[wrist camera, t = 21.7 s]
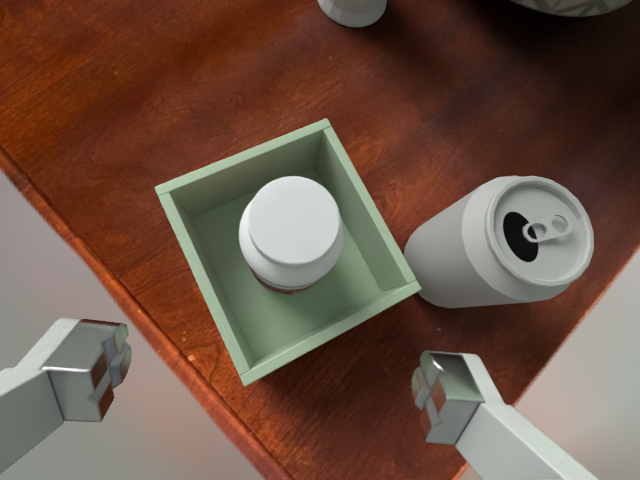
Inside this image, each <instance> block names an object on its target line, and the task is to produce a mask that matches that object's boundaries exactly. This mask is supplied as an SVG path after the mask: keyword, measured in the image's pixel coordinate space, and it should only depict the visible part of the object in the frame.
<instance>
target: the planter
mask: <svg viewBox="0 0 640 480" xmlns="http://www.w3.org/2000/svg"><path fill="white" fill-rule="evenodd" d="M510 1H513V2H515V3H517V4H519V5H522V6H524V7H527V8H530V9H533V10H536V11H539V12H543V13H548V14H552V15H558V16H567V17H588V16H596V15H601V14H605V13H608V12H611V11H614V10H617V9H619V8H620V7H622V6H624V5H626V4H628V3H629V2H631V1H632V0H510Z"/></svg>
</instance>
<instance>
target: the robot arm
mask: <svg viewBox="0 0 640 480" xmlns="http://www.w3.org/2000/svg"><path fill="white" fill-rule="evenodd" d="M127 336H128V330H127V325H126V324H123V323H114V322H106V321H98V320H89V319H77V318H67V317H62V318H61V319H58V320H57V321H56V322H55V323H54V324H53V325H52V326H51V327H50V328H49V330H48V331H47V332H46V333H45V334H44V335H43V336H42V337H41V339H40V340H39V341H38V342H37V343H36V344H35V345H34V347H33V348H32V349H31V350H30V351H29V352H28V353H27V355H26V356H25V357H24V358H23V359H22V360H21V361H20V362H19V364H18V365H17V366H16V367H15V368H6V369H4V370H2V371H0V474H1V473H2V472H4V471H5V470H6V469H7V468H9V467H10V466H11V465H12V464H14V463H15V462H16V461H17V460H18V459H20V458H21V457H22V456H23V455H25V454H26V453H27V452H28V451H30V450H31V449H32V448H33V447H35V446H36V445H37V444H38V443H40V442H41V441H42V440H43V439H45V438H46V437H47V436H48V435H49V434H51V433H52V432H53V431H55V430H56V429H57V428H58V427H60V426H61V425H62V424H63V423H64V421H84V422H85V421H86V422H101V421H102V420H103V418H104V416H105V414H106V412H107V410H108V409H109V407H110V405H111V403H112V401H113V399H114V394H113V389H114V388H115V387H117V386H118V385H119V384H121V383H122V382H123V380H124V378H125V376H126V374H127V372H128V369H129V366H130V362H131V347H130V345H129V344H128V343H126V342H125V339H126V337H127ZM419 360H420V363H421V366H420V367H418V368H417V369H415V370H414V373H413V376H412V380H411V393H412V398H413V402H414V404H415V405H416V406H417V407H418V408H419V409H420V410H421V411H422V412H421V414H420V416H419V418H418V419H419V422H420V426H421V429H422V433H423V436H424V439H425V442H430V443H441V444H452V445H456V446H455V447H456V448H457V450H458V451H459V452H460V453H461V455H462V456H463V457H464V458H465V460H466V461H467V462H468V463H469V464H470V466H471V467H472V468H473V469H474V471H475V472H476V473H477V474H478V476H479V477H480V478H481V479H482V480H599V479H598V478H597V477H596V476H595V475H593V474H592V473H591V472H590V471H588V470H587V469H586V468H585V467H584V466H583V465H581V464H580V463H579V462H578V461H576V459H574V458H573V457H572V456H571V455H570V454H568V453H567V452H566V451H564V449H562V448H561V447H560V446H559V445H558V444H556V443H555V442H554V441H553V440H552V439H550V438H549V437H548V436H547V435H546V434H544V433H543V432H542V431H541V430H540V429H538V428H537V427H536V426H535V425H534V424H532V423H531V422H530V421H529V420H528V419H526V418H525V417H524V416H523V415H522V414H520V413H519V412H518V411H517V410H516V409H514V408H513V407H512V406H511V405H505V403H504V401H503V399H502V398H501V396H500V394H499V392H498V390H497V388H496V387H495V385H494V383H493V381H492V379H491V377H490V375H489V374H488V372H487V370H486V368H485V366H484V364H483V362H482V361H481V359H480V357H479V356H477V355H476V354H467V353H455V352H442V351H430V350H425V351H424V352H423V353H422V354H421V356H420V359H419Z"/></svg>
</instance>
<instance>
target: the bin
mask: <svg viewBox="0 0 640 480" xmlns="http://www.w3.org/2000/svg"><path fill="white" fill-rule="evenodd" d="M287 176H299V177H304V178H308V179H310V180H313V181H315V182H317V183H318V184H320V185H322V186H323V187H324V188H325V189H326V190H327V191H328V192H329V193H330V194H331V195H332V197H333V198H334V200H335V202H336V204H337V206H338V209H339V213H340V217H341V220H342V223H343V229H344V242H343V247H342V251H341V253H340V256H339V258H338V260H337V262H336V263H335V265H334V266H333V267H332V268H331V270H330V271H329V272H328V273H327V274H326V275H325V276H323V277H322V278H321V279H320V280H319V281H318V282H317V283H316V284H315V285H314V286H312V287H311V288H309V289H308V290H306V291H303V292H301V293H297V294H280V293H276V292H273V291H271V290H269V289H267V288H266V287H264V286H263V285H262V284H261V283H260V282H259V281H258V280H257V279H256V278H255V276H254V274H253V273H252V271H251V269H250V267H249V265H248V264H247V262H246V260H245V258H244V256H243V254H242V251H241V247H240V242H239V227H240V221H241V218H242V215H243V213H244V211H245V209H246V207H247V206H248V204H249V203H250V202H251V201H252V199H253V198H254V197H255V195H256V194H257V193H258V192H259V191H260V189H261V188H263V187H264V186H265V185H266V184H268V183H269V182H271V181H273V180H276V179H278V178H282V177H287ZM155 190H156V192H157V195H158V196H159V199H160V201H161V204H162V206H163V208H164V210H165V212H166V215H167V217H168V219H169V221H170V224H171V226H172V228H173V230H174V232H175V235H176V237H177V239H178V241H179V243H180V246H181V248H182V250H183V252H184V255H185V257H186V259H187V261H188V263H189V266H190V268H191V270H192V272H193V274H194V277H195V279H196V281H197V283H198V286H199V288H200V290H201V292H202V294H203V297H204V299H205V301H206V303H207V305H208V308H209V310H210V312H211V314H212V317H213V319H214V321H215V323H216V325H217V328H218V330H219V332H220V334H221V336H222V339H223V341H224V343H225V345H226V348H227V350H228V352H229V354H230V356H231V359H232V361H233V363H234V365H235V367H236V370H237V372H238V374H239V375H240V378H241V381H242V383H243V385H244V386H247V385H249V384H251V383H253V382H255V381H256V380H258V379H260V378H262V377H264V376H266V375H267V374H269V373H271V372H273V371H275V370H276V369H278V368H280V367H282V366H284V365H286V364H287V363H289V362H291V361H293V360H295V359H296V358H298V357H300V356H302V355H304V354H306V353H307V352H309V351H311V350H313V349H315V348H316V347H318V346H320V345H322V344H324V343H326V342H327V341H329V340H331V339H333V338H335V337H336V336H338V335H340V334H342V333H344V332H346V331H347V330H349V329H351V328H353V327H355V326H356V325H358V324H360V323H362V322H364V321H366V320H367V319H369V318H371V317H373V316H375V315H376V314H378V313H380V312H382V311H384V310H386V309H387V308H389V307H391V306H393V305H395V304H396V303H398V302H400V301H402V300H404V299H406V298H407V297H409V296H411V295H413V294H415V293H416V292H418V291H420V290H421V287H420V285H419V283H418V281H417V280H416V278H415V276H414V274H413V272H412V271H411V269H410V267H409V265H408V263H407V261H406V260H405V258H404V256H403V254H402V252H401V251H400V249H399V247H398V245H397V243H396V242H395V240H394V238H393V236H392V234H391V233H390V231H389V229H388V227H387V225H386V224H385V222H384V220H383V218H382V216H381V215H380V213H379V211H378V209H377V207H376V206H375V204H374V202H373V200H372V198H371V197H370V195H369V193H368V191H367V189H366V188H365V186H364V184H363V182H362V180H361V179H360V177H359V175H358V173H357V171H356V170H355V168H354V166H353V164H352V162H351V161H350V159H349V157H348V155H347V153H346V152H345V150H344V148H343V146H342V144H341V142H340V141H339V139H338V137H337V135H336V133H335V132H334V130H333V128H332V127H331V124H330V123H329V121H328V119H327V118H326V119H323V120H321V121H318V122H316V123H313V124H311V125H308V126H306V127H303V128H301V129H298V130H296V131H293V132H291V133H288V134H286V135H283V136H281V137H278V138H276V139H273V140H271V141H268V142H266V143H263V144H261V145H258V146H256V147H253V148H251V149H248V150H246V151H243V152H241V153H238V154H236V155H233V156H231V157H228V158H226V159H223V160H221V161H218V162H216V163H213V164H211V165H208V166H206V167H203V168H201V169H198V170H196V171H193V172H191V173H188V174H186V175H183V176H181V177H178V178H176V179H173V180H171V181H168V182H166V183H163V184H161V185H158V186H156V187H155Z"/></svg>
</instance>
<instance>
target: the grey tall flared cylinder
mask: <svg viewBox="0 0 640 480" xmlns="http://www.w3.org/2000/svg"><path fill="white" fill-rule="evenodd" d="M317 1H318V3H319V5H320V8H321V10H322V11H323V12H324V13H325V14H326V15H327V16H328V17H329V18H330V19H332V20H334V21H335V22H337V23H338V24H342V25H345V26H348V27H363V26H367V25H371V24H372V23H374V22H376V21H377V20H379V18H380V17H381V16H382V14H383V13H384V11H385V7H386V3H387V0H317Z"/></svg>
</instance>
